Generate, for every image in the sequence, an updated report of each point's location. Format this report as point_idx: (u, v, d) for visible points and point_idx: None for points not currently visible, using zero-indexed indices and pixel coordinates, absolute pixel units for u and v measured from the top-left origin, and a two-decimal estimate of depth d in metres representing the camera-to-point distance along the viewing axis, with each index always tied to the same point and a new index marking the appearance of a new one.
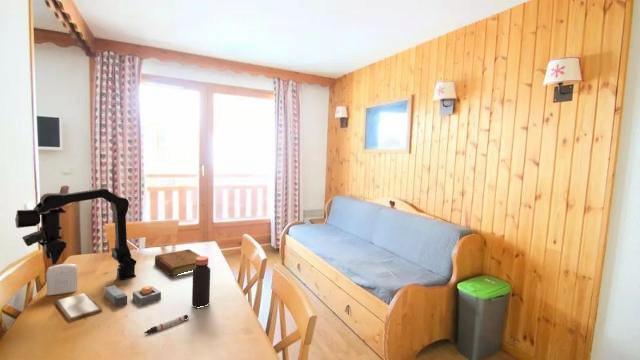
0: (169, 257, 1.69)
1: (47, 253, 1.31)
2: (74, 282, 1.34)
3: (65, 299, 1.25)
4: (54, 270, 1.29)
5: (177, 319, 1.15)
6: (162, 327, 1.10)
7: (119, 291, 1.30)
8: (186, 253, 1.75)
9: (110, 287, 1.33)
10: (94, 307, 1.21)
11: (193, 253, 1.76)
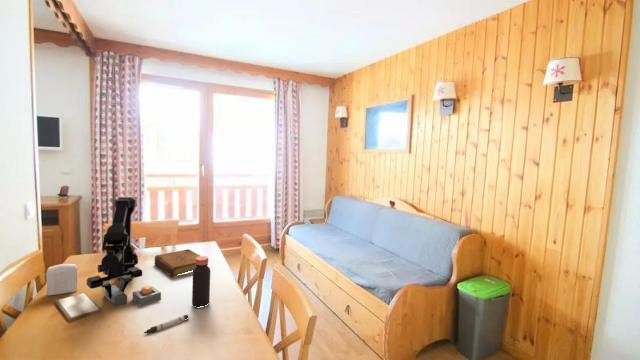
0: (169, 257, 1.68)
1: (120, 289, 1.31)
2: (74, 282, 1.34)
3: (65, 299, 1.25)
4: (54, 270, 1.29)
5: (177, 319, 1.15)
6: (162, 327, 1.10)
7: (119, 291, 1.29)
8: (185, 253, 1.75)
9: None
10: (94, 307, 1.21)
11: (193, 253, 1.76)
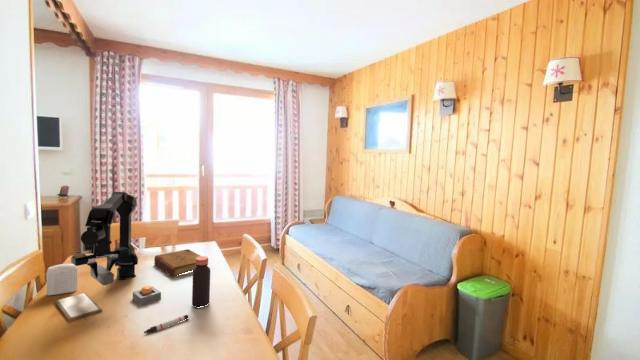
0: (169, 257, 1.68)
1: None
2: (74, 282, 1.34)
3: (65, 299, 1.25)
4: (54, 270, 1.29)
5: (177, 319, 1.15)
6: (162, 327, 1.11)
7: (106, 270, 1.26)
8: (185, 253, 1.75)
9: None
10: (94, 307, 1.21)
11: (193, 253, 1.77)
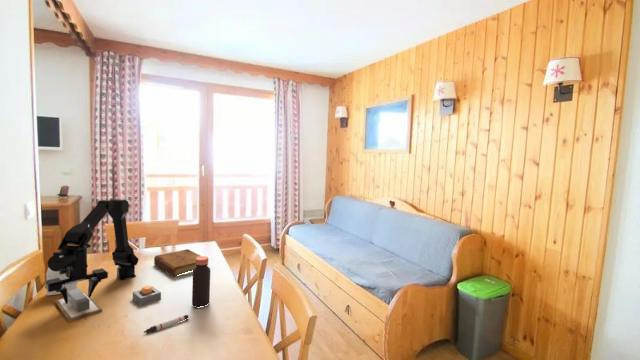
0: (169, 257, 1.68)
1: (88, 291, 1.25)
2: (74, 282, 1.34)
3: None
4: None
5: (177, 319, 1.15)
6: (162, 327, 1.11)
7: (82, 295, 1.22)
8: (185, 253, 1.75)
9: (73, 291, 1.25)
10: (94, 307, 1.21)
11: (193, 253, 1.77)
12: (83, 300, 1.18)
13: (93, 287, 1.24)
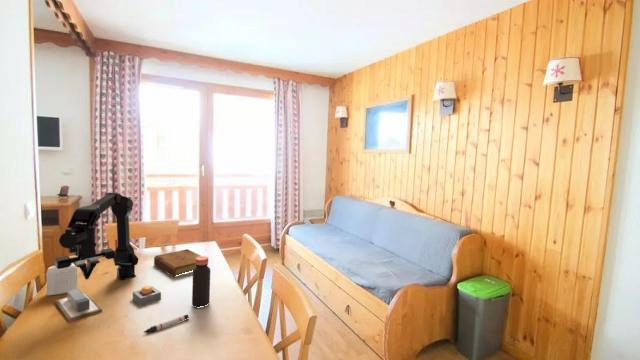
0: (169, 257, 1.68)
1: None
2: (74, 282, 1.34)
3: (65, 299, 1.25)
4: (54, 270, 1.29)
5: (177, 319, 1.15)
6: (162, 327, 1.11)
7: (82, 295, 1.22)
8: (185, 253, 1.75)
9: (73, 291, 1.25)
10: (94, 307, 1.21)
11: (192, 253, 1.77)
12: (83, 300, 1.18)
13: (91, 268, 1.21)
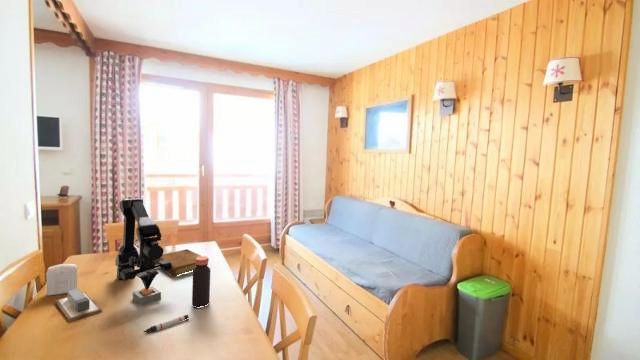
0: (169, 257, 1.68)
1: None
2: (74, 282, 1.34)
3: (65, 299, 1.25)
4: (54, 270, 1.29)
5: (177, 319, 1.15)
6: (162, 327, 1.11)
7: (82, 295, 1.22)
8: (185, 253, 1.75)
9: (73, 291, 1.25)
10: (94, 307, 1.21)
11: (192, 253, 1.77)
12: (83, 300, 1.18)
13: (151, 279, 1.31)
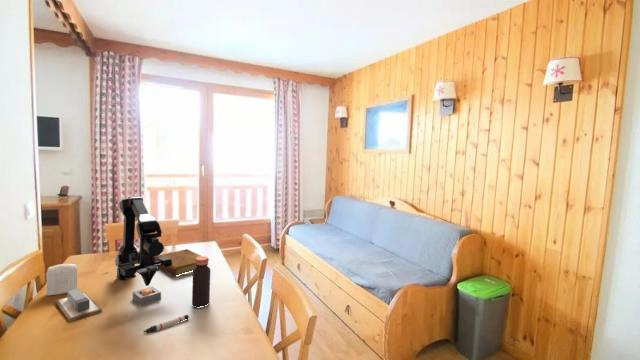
0: (169, 257, 1.68)
1: None
2: (74, 282, 1.34)
3: (65, 299, 1.25)
4: (54, 270, 1.29)
5: (177, 319, 1.15)
6: (162, 326, 1.11)
7: (82, 295, 1.22)
8: (185, 253, 1.75)
9: (73, 291, 1.25)
10: (94, 307, 1.21)
11: (192, 253, 1.77)
12: (83, 300, 1.18)
13: (152, 275, 1.30)
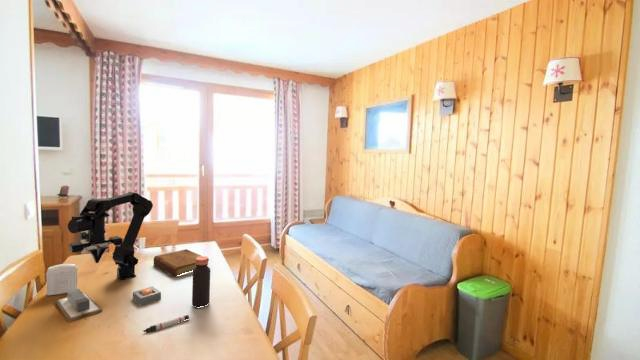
0: (169, 257, 1.68)
1: None
2: (74, 282, 1.34)
3: (65, 299, 1.25)
4: (54, 270, 1.29)
5: (177, 319, 1.15)
6: (161, 326, 1.11)
7: (82, 295, 1.22)
8: (185, 253, 1.75)
9: (73, 291, 1.25)
10: (94, 307, 1.21)
11: (192, 253, 1.77)
12: (83, 300, 1.18)
13: (101, 253, 1.36)
